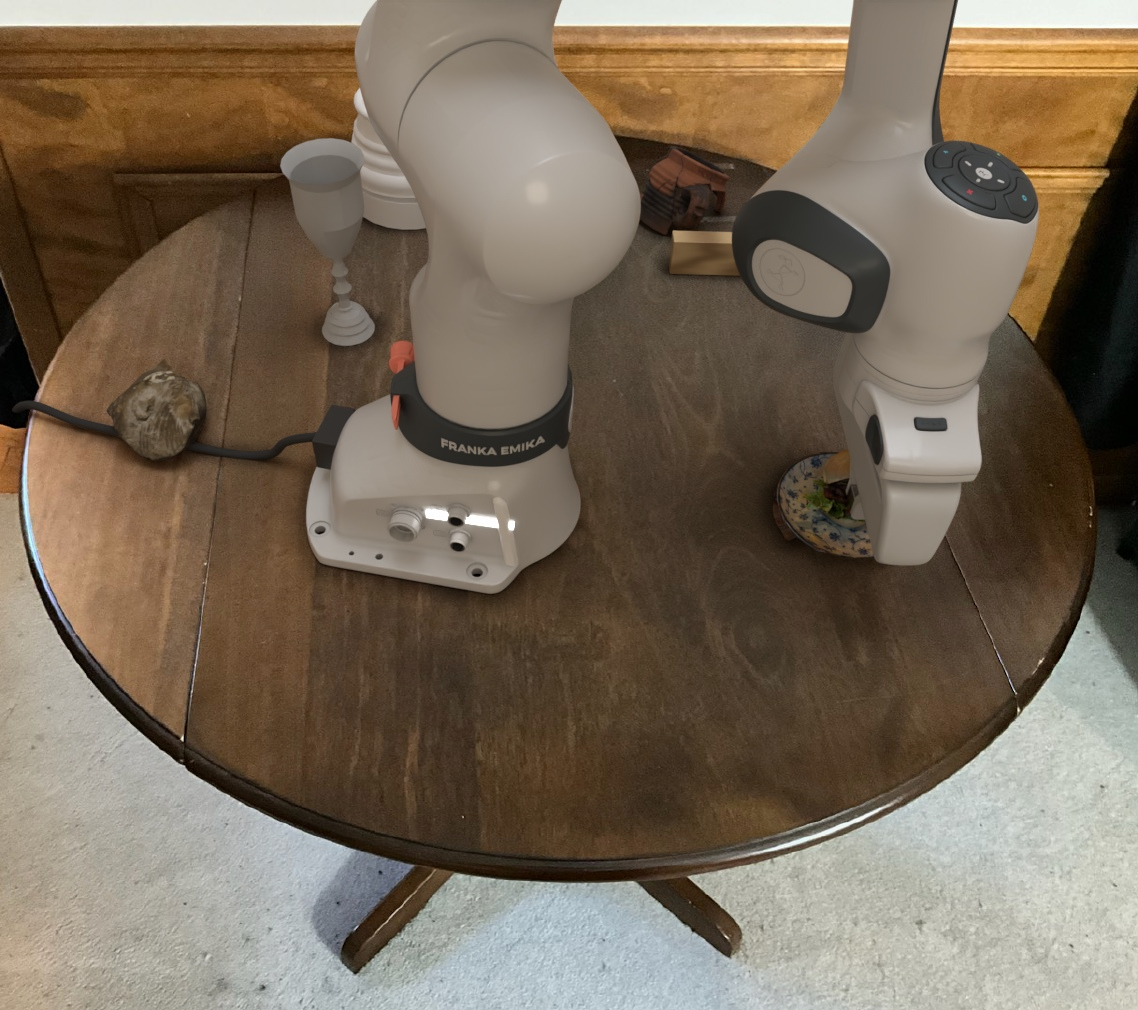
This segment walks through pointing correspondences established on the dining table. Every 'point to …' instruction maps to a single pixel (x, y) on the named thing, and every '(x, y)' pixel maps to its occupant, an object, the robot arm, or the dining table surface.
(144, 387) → the fossilized seashell
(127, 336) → the dining table surface
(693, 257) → the corner fence
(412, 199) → the honey pot
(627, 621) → the dining table surface
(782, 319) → the dining table surface
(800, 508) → the burger
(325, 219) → the chalice
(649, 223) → the pottery mug
